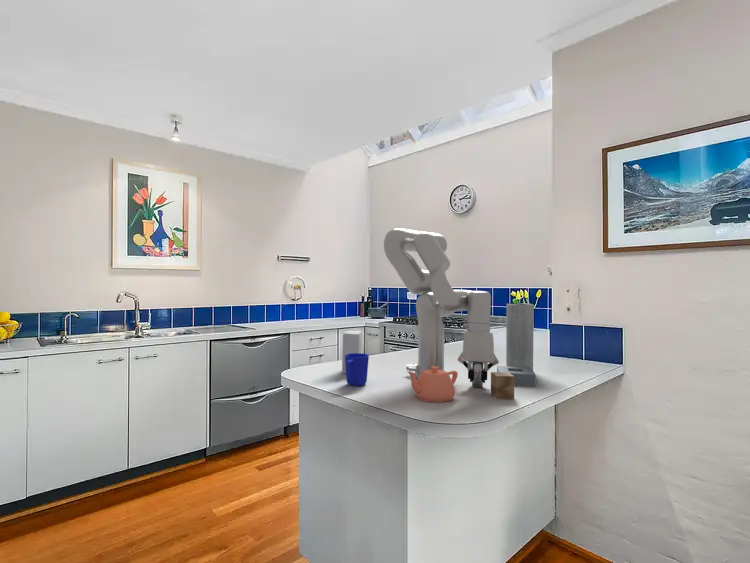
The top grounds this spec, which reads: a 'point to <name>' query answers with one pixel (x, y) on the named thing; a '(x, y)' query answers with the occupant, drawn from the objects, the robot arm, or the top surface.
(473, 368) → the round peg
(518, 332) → the vase
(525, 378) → the socket block
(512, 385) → the square peg
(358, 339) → the skincare box
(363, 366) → the mug
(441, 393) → the teapot
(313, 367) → the top surface
